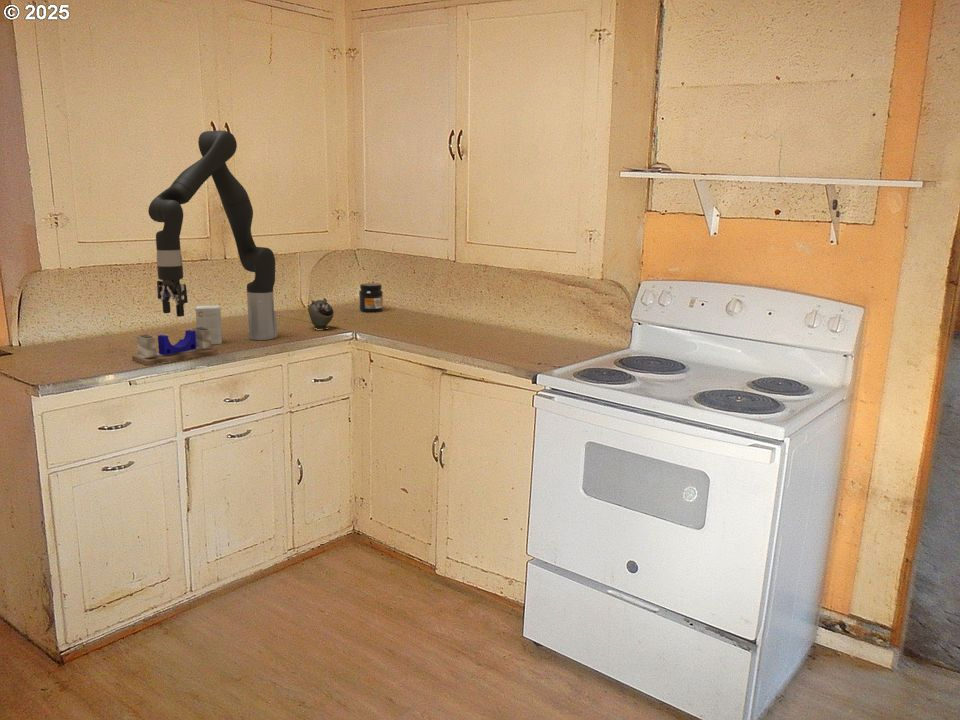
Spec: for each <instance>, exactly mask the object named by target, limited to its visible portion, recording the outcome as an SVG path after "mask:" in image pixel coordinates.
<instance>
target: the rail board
mask: <svg viewBox="0 0 960 720" xmlns="http://www.w3.org/2000/svg"><path fill="white" fill-rule="evenodd" d="M192 330H193V331H195V333H196V349H193V350H188V351H183V352H179V353H174V354H169V355H162V354H159V351H157V344H156V341H157V340H156V337H155V336H153V335H149V334H139V335H136V343H137V345H136V346H137V347H136V348H137V354H135V355H132V356H131V357H132V361H133V362H136V363H138V364H142V365H144V364H145V365H144V366H147V365H150V366H154V365H153V364H156V365H158V364H157V363H162V362H168V363H170V362H169V361H174V362H177V361H176V360H180V361H185V360H184V359H186V360H190V359H189V358H192V359H197V358H196V357H198V358H202V357H201V356H204V357H209V355H210V356H214V355H215V356H216V355H219V353H218V352H219V351H218V349H215V348H213V347H212V344H211V331H210V330H209V329H207V328H203V327H197V326H196V327H194V328H193V327H192ZM162 364H163V363H162Z"/></svg>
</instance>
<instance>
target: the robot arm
mask: <svg viewBox="0 0 960 720" xmlns="http://www.w3.org/2000/svg"><path fill="white" fill-rule="evenodd" d="M197 142H198V149H199V151H200V154H201V158H200V159H199V160H197V161H196V162H194V163H193V164H191V165H190V166H188V167H187V168H186V169H184V170H183V171H182V172H180V173H179V175H178V176H177V177H176V178H175V179H174V181H173V182H172V183H171V184H170V186H169V187H167V188H166V189H165V190H163V191H162V192H161V193H159V194H158V195H157V196H156V197H154V198H153V200H152V201H151V202H150V204H149V205H148V215H149V217H150V219H151V220H152V221H154V222H156V223H163V229H161V230H159V231H157V232H156V234H155V245H156V270H157V279H158V280H157V281H156V285H157V286H156V288H157V289H156V290H157V291H156V293H157V299H158V300H160V302H162V303H161V304H162V313H163V314H171V313H172V312H171V311H172V310H171V301H170V299H172V300H174V302H175V303H174V304H175V310H176V311H175V312H176V317H178V318H179V317H184V316H185V310H184V309H185V308H184V307H185V304H187V303H188V291H187V290H188V289H187V284H186V283H183V284H181V282H180V280H183V278H184V268H183V267H184V266H183V255H182V250H181V238H180V236H181V232H182V228H183V220H184V209H183V207H182V206H181V205H184V204H187V203H189V202H190V201H191V200H192V199H193V197H194V196H195V194H196V193H197V191H198V190H199V189H201V187H202V186H203V184H205V182H206V181H207V180H208V179H209V178H210V177H211V179H212V180H213V182H214V185H215V188H216V190H217V193H218V196H219V198H220V202H221V204H222V207H223V210H224V213H225V216H226V218H227V220H228V223H229V225H230V229H231V232H232V235H233V237H234V238H233V239H234V241H235V245H236V249H237V253H238V257H239V260H240V263H241V265H242V267H243V269H244V270H246V271H247V272H250V273H255V274H254V280H253V281H250V282H248V283H247V284H246V297H247V298H246V300H247V320H248V321H247V324H248V339H249V340H252V341H253V340H254V341H268V340H273V339H275V338H278V321H277V319H278V318H277V312H276V311H275V302H274V286H275V284H276V283H275V282H276V256H275V254H274V252H273V250H272V249H270V247H269V248H268V247H264V246H263V247H262V246H257V244H256V242H255V241H254V237H253V234H252V223H253V217H254V209H253V206H252V202H251V199H250V196H249V194H248V192H247V190H246V188H245V187H244V186H243V185H242V183H240V182H239V180H238V179H237V178H236V177H235V176H234V175H233V173H232V172H231V171H230V169H229V167H228V165H227V162H228V161H229V160H230V159H231V158H232V157H233V156H234V155H235V153H236V151H237V147H238V145H237V140H236V137H235V135H234V134H233V133H232V132H229V130H228V131H227V130H205V131H203V132H201V133H200V135H199V137H198V141H197Z"/></svg>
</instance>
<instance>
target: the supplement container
mask: <svg viewBox="0 0 960 720" xmlns="http://www.w3.org/2000/svg"><path fill="white" fill-rule="evenodd" d="M382 286H383V285H382V284H381V283H375V282H367V283H361V284H359V287H360V290H359V291H358V292H359V307H358V308H359V310H360V312H364V313H380V312H382V311H383V309H384V308H383V305H384V303H383V301H384V299H383V295H384V293H383V290H382V288H383V287H382ZM379 311H380V312H379Z"/></svg>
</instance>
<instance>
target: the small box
mask: <svg viewBox="0 0 960 720" xmlns="http://www.w3.org/2000/svg"><path fill="white" fill-rule="evenodd" d="M221 316H222V314H221V305H216V304H215V305H197V306H195V321H196V328H197V327H203V328H207V329H209V330H210V331H211V345H223V332H222V331H223V330H222V317H221Z"/></svg>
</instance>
